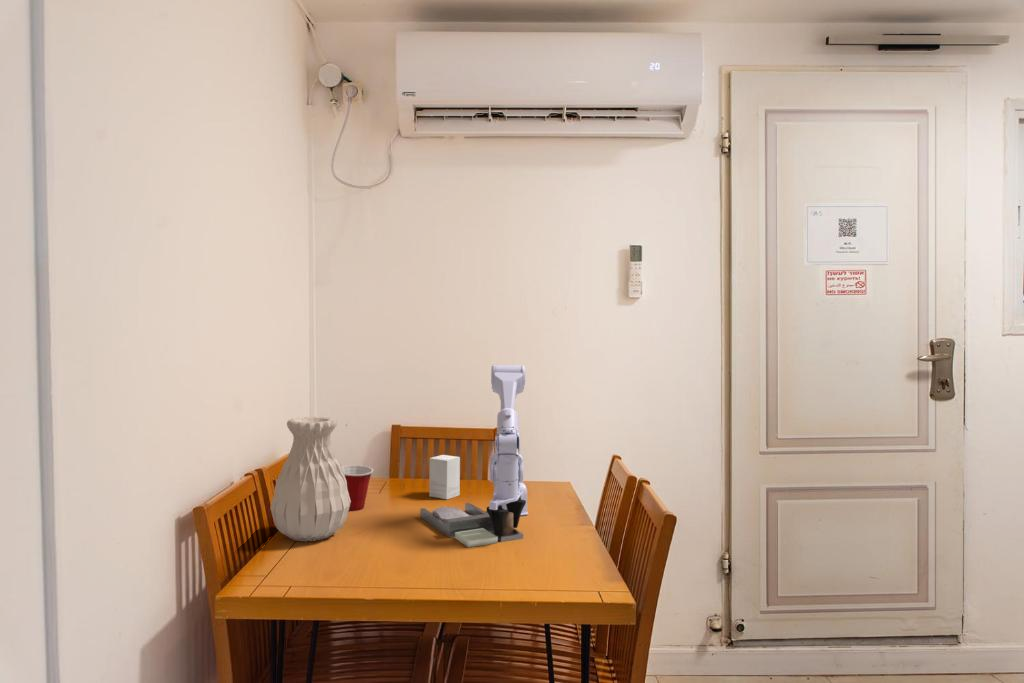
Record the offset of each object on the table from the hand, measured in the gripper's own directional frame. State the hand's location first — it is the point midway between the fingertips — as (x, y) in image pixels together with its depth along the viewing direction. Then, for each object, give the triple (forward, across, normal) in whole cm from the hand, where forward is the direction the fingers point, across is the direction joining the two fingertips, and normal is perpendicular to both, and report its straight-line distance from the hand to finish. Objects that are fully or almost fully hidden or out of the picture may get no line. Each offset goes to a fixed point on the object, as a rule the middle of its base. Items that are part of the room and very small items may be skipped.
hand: (506, 531), depth 172 cm
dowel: (+1, 0, 0) cm, 1 cm away
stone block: (+2, -2, -17) cm, 17 cm away
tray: (+1, +7, -5) cm, 9 cm away
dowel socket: (+1, 0, 0) cm, 1 cm away
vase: (+2, +26, -44) cm, 51 cm away
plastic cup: (+2, +1, -52) cm, 52 cm away
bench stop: (+1, -3, -17) cm, 17 cm away
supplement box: (+2, -26, -38) cm, 46 cm away
